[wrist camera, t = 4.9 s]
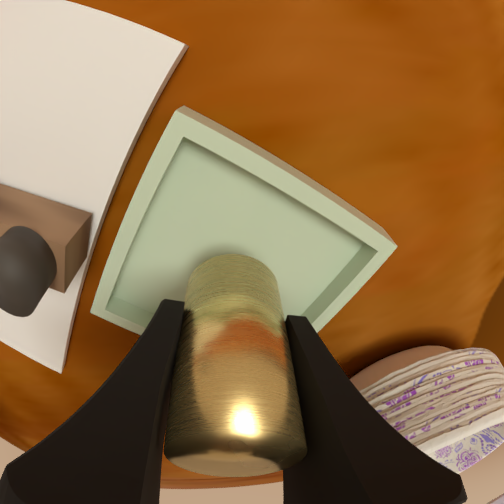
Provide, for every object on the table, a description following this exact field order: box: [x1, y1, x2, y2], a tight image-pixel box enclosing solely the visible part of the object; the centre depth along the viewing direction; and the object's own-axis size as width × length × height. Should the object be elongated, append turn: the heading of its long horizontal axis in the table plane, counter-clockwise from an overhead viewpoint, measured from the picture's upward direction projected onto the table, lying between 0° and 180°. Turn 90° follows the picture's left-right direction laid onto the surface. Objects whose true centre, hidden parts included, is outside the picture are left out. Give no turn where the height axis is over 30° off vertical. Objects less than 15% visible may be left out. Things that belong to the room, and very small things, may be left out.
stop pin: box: [164, 254, 307, 477], centre depth 8 cm, size 3×3×6 cm
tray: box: [90, 105, 398, 335], centre depth 12 cm, size 9×9×2 cm
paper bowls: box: [349, 346, 504, 474], centre depth 16 cm, size 15×15×8 cm
